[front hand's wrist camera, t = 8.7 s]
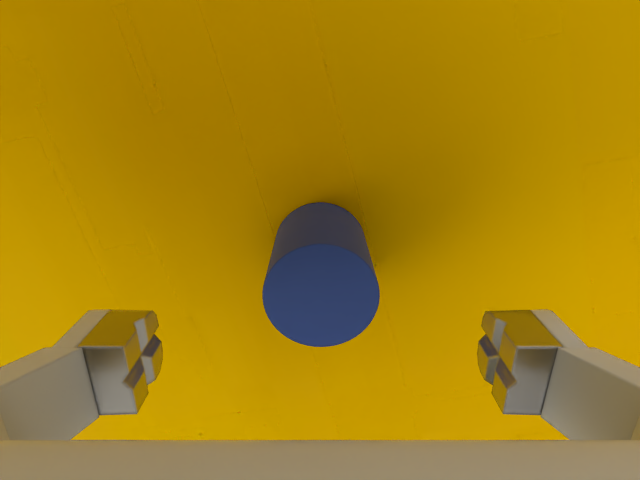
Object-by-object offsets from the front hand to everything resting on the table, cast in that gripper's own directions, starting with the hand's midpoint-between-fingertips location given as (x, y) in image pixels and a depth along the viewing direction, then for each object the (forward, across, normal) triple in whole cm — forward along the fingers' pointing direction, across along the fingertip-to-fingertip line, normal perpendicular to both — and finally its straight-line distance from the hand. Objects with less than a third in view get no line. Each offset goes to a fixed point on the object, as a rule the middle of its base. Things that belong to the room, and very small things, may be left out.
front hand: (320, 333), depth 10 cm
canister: (+7, 0, -1) cm, 7 cm away
